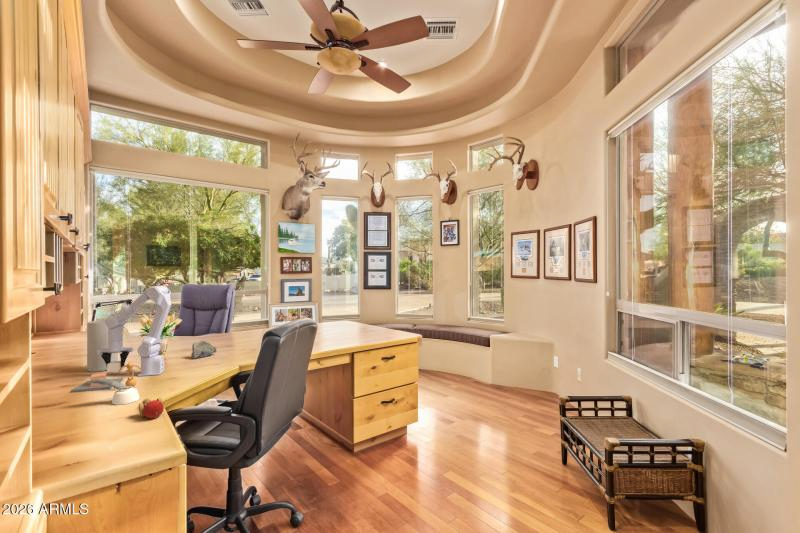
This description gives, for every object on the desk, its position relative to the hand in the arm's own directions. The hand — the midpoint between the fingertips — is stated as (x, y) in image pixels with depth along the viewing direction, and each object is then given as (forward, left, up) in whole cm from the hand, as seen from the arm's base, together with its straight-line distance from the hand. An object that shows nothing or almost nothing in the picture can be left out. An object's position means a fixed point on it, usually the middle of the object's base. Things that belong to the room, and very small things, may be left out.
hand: (115, 367), depth 185 cm
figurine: (-16, +28, -4) cm, 32 cm away
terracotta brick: (-1, +20, -2) cm, 20 cm away
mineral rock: (-34, -28, -4) cm, 45 cm away
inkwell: (-16, +47, -4) cm, 50 cm away
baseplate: (-1, +20, -3) cm, 20 cm away
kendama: (-34, +63, -4) cm, 72 cm away
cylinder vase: (+11, -14, -4) cm, 18 cm away
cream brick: (0, 0, -2) cm, 2 cm away
